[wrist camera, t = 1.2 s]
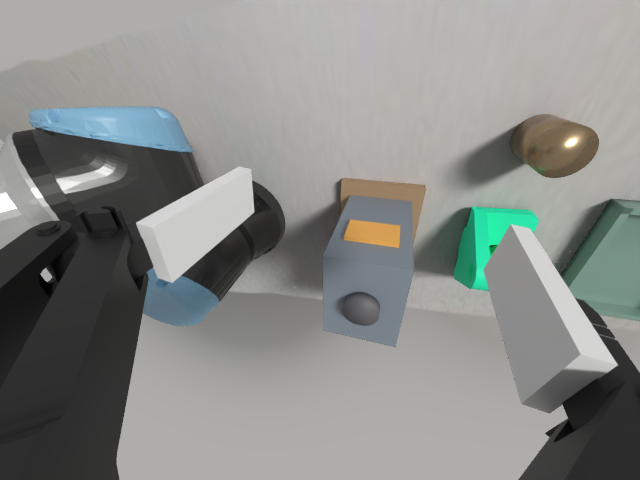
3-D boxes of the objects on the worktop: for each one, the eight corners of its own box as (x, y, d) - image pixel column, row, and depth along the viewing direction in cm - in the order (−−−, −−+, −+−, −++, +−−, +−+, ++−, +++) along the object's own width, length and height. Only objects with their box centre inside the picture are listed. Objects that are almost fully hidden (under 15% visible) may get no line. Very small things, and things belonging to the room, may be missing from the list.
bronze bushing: (503, 157, 33) (523, 175, 27) (520, 113, 30) (546, 124, 24) (550, 159, 31) (580, 179, 26) (571, 114, 29) (611, 126, 23)
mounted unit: (340, 260, 49) (309, 345, 34) (343, 178, 40) (304, 244, 25) (406, 270, 46) (405, 368, 31) (425, 185, 37) (436, 264, 22)
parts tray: (547, 295, 41) (555, 306, 39) (611, 198, 32) (625, 207, 30) (647, 311, 38) (661, 325, 36) (750, 210, 29) (775, 220, 27)
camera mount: (504, 274, 41) (528, 326, 33) (452, 268, 43) (462, 315, 35) (533, 206, 35) (571, 249, 27) (470, 203, 37) (488, 242, 29)
